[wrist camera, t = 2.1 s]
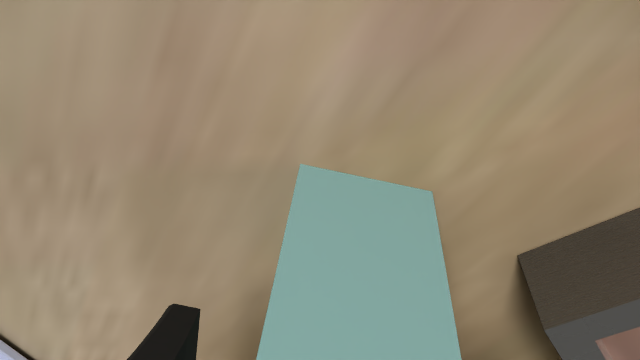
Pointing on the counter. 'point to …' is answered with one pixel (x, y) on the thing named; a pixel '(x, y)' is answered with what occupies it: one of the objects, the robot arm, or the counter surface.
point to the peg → (359, 275)
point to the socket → (590, 290)
